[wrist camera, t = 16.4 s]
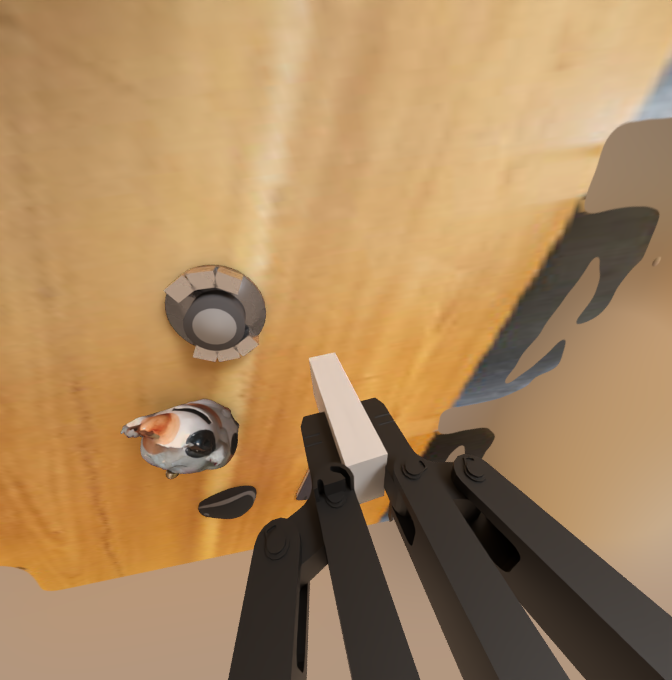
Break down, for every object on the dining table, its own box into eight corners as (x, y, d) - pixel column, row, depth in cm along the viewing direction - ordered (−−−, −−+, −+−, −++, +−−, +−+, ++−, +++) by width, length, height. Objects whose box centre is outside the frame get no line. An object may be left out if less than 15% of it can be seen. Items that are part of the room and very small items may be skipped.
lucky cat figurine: (138, 442, 41) (71, 492, 28) (175, 378, 43) (128, 396, 29) (223, 472, 45) (199, 530, 31) (254, 412, 46) (245, 443, 32)
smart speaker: (187, 331, 34) (179, 345, 30) (193, 283, 31) (186, 294, 28) (240, 340, 37) (238, 354, 33) (250, 297, 34) (250, 308, 31)
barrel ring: (272, 339, 39) (274, 351, 36) (187, 355, 36) (181, 369, 33) (254, 259, 33) (255, 265, 30) (150, 271, 30) (138, 279, 27)
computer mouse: (194, 499, 53) (190, 519, 50) (251, 479, 55) (251, 497, 52) (206, 514, 57) (203, 533, 53) (259, 495, 59) (260, 513, 55)
